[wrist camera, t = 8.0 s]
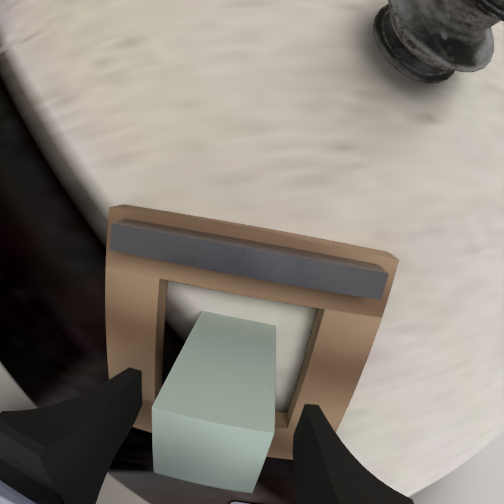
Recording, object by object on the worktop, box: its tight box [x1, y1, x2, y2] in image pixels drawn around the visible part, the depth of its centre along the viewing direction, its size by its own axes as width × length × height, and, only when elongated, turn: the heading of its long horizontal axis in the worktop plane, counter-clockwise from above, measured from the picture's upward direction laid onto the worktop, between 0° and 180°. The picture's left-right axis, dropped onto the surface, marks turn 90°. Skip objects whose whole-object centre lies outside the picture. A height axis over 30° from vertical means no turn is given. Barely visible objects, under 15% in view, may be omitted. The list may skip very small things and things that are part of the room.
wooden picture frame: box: [105, 205, 399, 459], centre depth 16 cm, size 14×14×2 cm
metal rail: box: [110, 219, 388, 300], centre depth 14 cm, size 1×12×2 cm, turn 80°
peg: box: [152, 311, 276, 493], centre depth 13 cm, size 4×4×8 cm
